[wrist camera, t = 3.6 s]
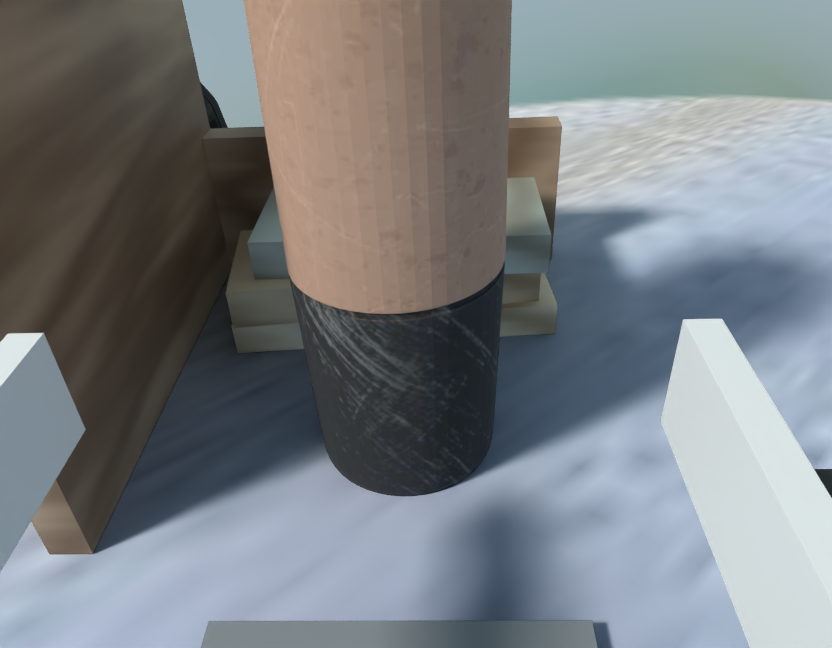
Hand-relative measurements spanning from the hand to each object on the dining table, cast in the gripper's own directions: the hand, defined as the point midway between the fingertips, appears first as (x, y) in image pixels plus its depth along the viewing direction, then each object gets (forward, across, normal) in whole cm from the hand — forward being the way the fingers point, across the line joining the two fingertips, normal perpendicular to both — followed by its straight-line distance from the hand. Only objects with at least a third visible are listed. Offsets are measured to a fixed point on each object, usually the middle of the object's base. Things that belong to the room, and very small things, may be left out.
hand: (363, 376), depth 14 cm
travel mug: (+10, 0, -11) cm, 15 cm away
